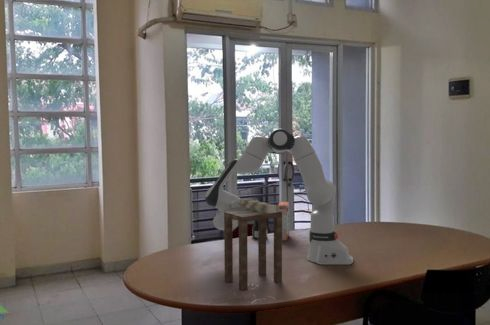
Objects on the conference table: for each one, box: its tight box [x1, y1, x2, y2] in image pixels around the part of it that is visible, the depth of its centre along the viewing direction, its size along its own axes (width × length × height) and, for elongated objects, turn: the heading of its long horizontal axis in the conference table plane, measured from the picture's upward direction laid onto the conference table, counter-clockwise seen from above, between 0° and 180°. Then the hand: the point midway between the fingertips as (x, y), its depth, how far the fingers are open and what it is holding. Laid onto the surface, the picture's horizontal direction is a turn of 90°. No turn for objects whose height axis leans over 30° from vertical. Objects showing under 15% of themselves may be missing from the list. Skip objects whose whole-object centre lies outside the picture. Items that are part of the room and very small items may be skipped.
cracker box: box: [277, 201, 291, 242], centre depth 271 cm, size 14×6×21 cm, turn 168°
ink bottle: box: [251, 220, 268, 240], centre depth 272 cm, size 10×9×12 cm
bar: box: [240, 198, 277, 213], centre depth 198 cm, size 22×4×3 cm, turn 33°
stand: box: [223, 208, 283, 292], centre depth 194 cm, size 14×20×30 cm
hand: (247, 201), depth 204 cm, fingers open, 8 cm apart
